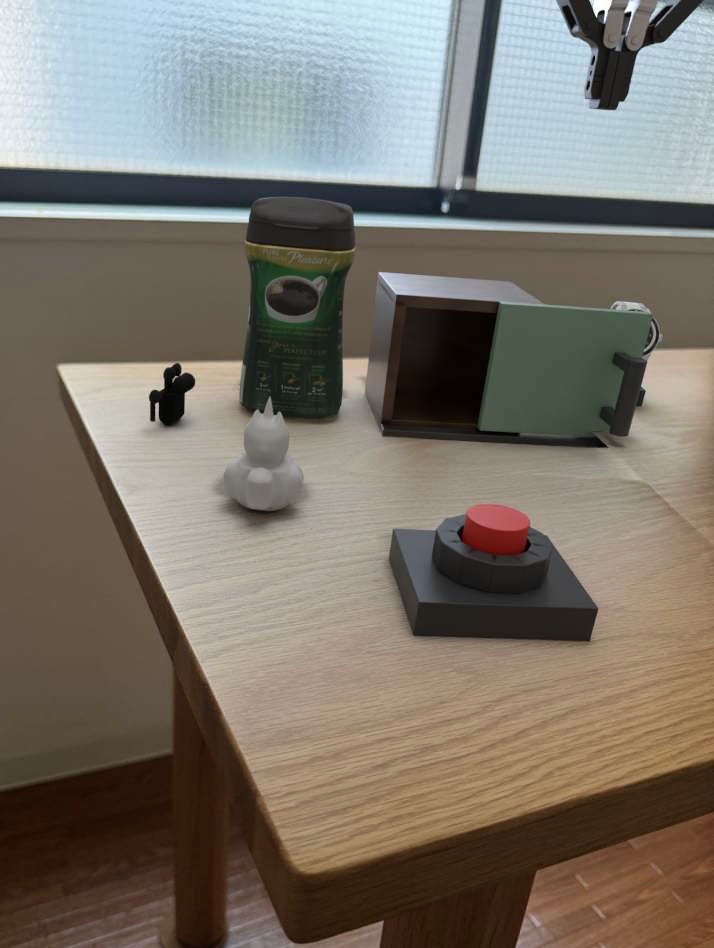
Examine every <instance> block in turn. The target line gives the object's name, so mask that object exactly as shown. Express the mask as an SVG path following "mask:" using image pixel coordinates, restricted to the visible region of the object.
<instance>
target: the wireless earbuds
mask: <svg viewBox="0 0 714 948" xmlns="http://www.w3.org/2000/svg"><path fill="white" fill-rule="evenodd" d="M182 371H183V369H182V365H181V364H180V363H179V362H176V363H173V364H172V366H167V367H166V368H165V369H164V371H163V373H162V377H163V382H164V383H163V388H162V389H160V390H158V389H152V390H151V391H150V393H148V394H149V395H148V401H149V421H150V422H151V423H155V422H156V404H158V420H159V422H160V423H161V424H163V425H165V426H170V425H172V424H174V423H176V422H178V421H179V420H180V419H182V418H183V417H184V415H185V412H186V411H185V408H186V407H185V406H186V393H188V392H189V391H191V390H192V389H194V388H195V386H196V378H195V376H194V375H193V374H192V373H189V372H184V373H182Z"/></svg>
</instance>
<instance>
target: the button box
mask: <svg viewBox="0 0 714 948" xmlns="http://www.w3.org/2000/svg"><path fill="white" fill-rule="evenodd" d="M465 518H466V513H463V514H459V515H455V516H451V517H446V518H445V519H444V520H443V521H442V522H441V523H440V524H439V526H438V527H437V528H436V529H415V528H414V529H413V528H392V531H391V532H392V533H391V540H390V547H389V554H388V561H389V563H390V567H391V570H392V573H393V576H394V579H395V583H396V585H397V588H398V592H399V595H400V598H401V601H402V604H403V607H404V610H405V613H406V616H407V620H408V623H409V627H410V630H411V633H412V636H414V637H435V638H436V637H439V638H464V639H465V638H466V639H468V638H469V639H471V638H472V639H495V640H496V639H497V640H498V639H500V640H502V639H503V640H528V641H529V640H533V641H562V642H564V641H565V642H591V638H592V634H593V631H594V627H595V623H596V621H597V620H596V619H597V616H598V613H599V607H598V606H597V604H596V603H595V601H594V600H593V599H592V596H591V595H590V594H589V593H588V591H587V590H586V589H585V587H584V586H583V584H582V583H581V581H580V580H579V578H578V577H577V576H576V574H575V572H574V571H573V570H572V568H571V567H570V566H569V565H568V563H567V562H566V560H565V559H564V557H563V556H562V555H561V553H560V552H559V550H558V549H557V548H556V546H555V545H554V543H553V542H552V540H551V539H550V538H549V536H548V535H547V534H544V533H543V532H541V531H539V530H537V529H535V528H534V527H532V526H530V527H529V532H528V536H527V541H526V545H525V550H524V552H523V553H521V554H517V555H514V556H509V555H493V554H489V553H485V552H482V551H478V550H475V549H473V548H471V547H470V546H468V545H466V544H465V543H463V542H462V535H463V530H464V524H465Z"/></svg>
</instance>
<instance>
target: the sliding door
mask: <svg viewBox="0 0 714 948" xmlns="http://www.w3.org/2000/svg"><path fill="white" fill-rule="evenodd" d="M544 304H545V303H544ZM544 304H529V303H515V302H501V301H500V303H499V308H498V314H497V319H496V325H495V331H494V336H493V342H492V348H491V353H490V359H489V364H488V370H487V376H486V381H485V387H484V392H483V398H482V404H481V409H480V415H479V421H478V426H477V427H478V428H479V430H480V431H497V432H515V433H533V434H551V435H569V436H587V437H598V435H597V434H595V433H594V432H603V433H604V432H605V433H609V434H610V435H612V436H615V437H620V438H626V437H629V434H630V431H631V426H632V424H633V423H632V422H633V420H634V415H635V412H636V407H637V406H636V404H637V400H638V396H639V392H640V389H641V387H642V385H643V381H644V377H645V373H646V370H647V365H648V361H649V360H648V361H647V360H645V359H642V356H643V352H644V348H645V344H646V341H647V337H648V333H649V329H650V325H651V321H652V317H654V314H653V313H652V312H651V313H649V312H642V311H628V310H614V309H611V308H599V307H598V308H597V307H585V306H584V307H583V306H571V305H570V306H569V305H555V304H545V305H544Z"/></svg>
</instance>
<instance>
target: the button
mask: <svg viewBox="0 0 714 948" xmlns="http://www.w3.org/2000/svg"><path fill="white" fill-rule="evenodd" d="M465 514H466V518H465V524H464V530H463V535H462V542H463V543H465V544H466V545H468V546H470V547H471V548H473V549H475V550H478V551H482V552H485V553H489V554H493V555H509V556H514V555H517V554H521V553H523V552H524V550H525V545H526V541H527V536H528V532H529V527H531V520H530V518H529V517H528V515H526V514H525V513H523V512H522V511H520V510H518V509H515V508H513V507H509V506H505V505H501V504H493V503H480V504H475V505H473V506H470V507H469V508H468V509H467V511H466V513H465Z"/></svg>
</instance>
